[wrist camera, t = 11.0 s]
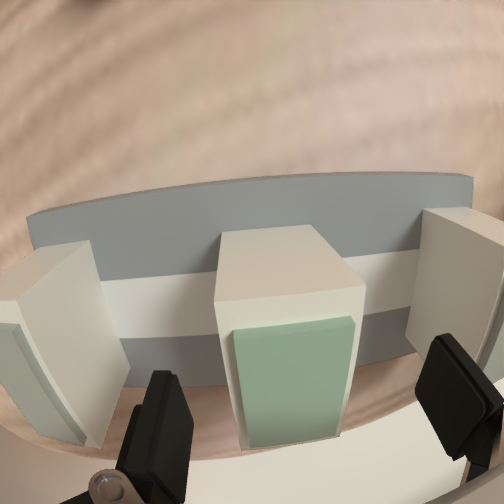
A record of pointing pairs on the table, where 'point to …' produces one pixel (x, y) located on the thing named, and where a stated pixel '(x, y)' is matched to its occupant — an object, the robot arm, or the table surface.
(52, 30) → the table surface
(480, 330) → the mounted modules
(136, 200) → the rail board
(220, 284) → the block
